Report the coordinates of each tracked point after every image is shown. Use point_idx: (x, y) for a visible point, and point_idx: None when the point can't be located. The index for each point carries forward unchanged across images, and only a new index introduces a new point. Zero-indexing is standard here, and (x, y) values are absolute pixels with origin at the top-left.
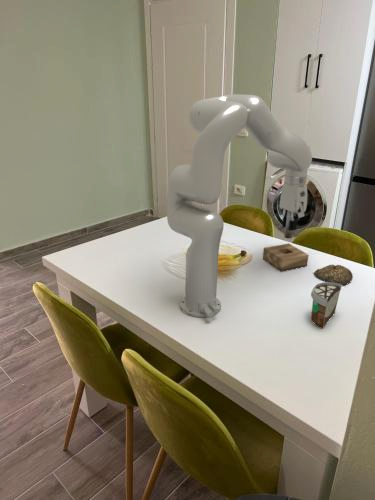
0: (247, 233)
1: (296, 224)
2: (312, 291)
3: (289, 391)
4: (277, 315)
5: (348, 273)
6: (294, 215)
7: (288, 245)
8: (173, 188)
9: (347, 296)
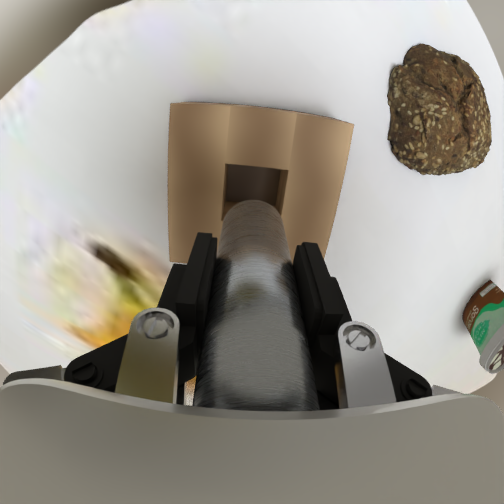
0: None
1: (344, 300)
2: (484, 367)
3: (463, 390)
4: (416, 359)
5: (489, 111)
6: (314, 384)
7: (195, 125)
8: None
9: (497, 195)
